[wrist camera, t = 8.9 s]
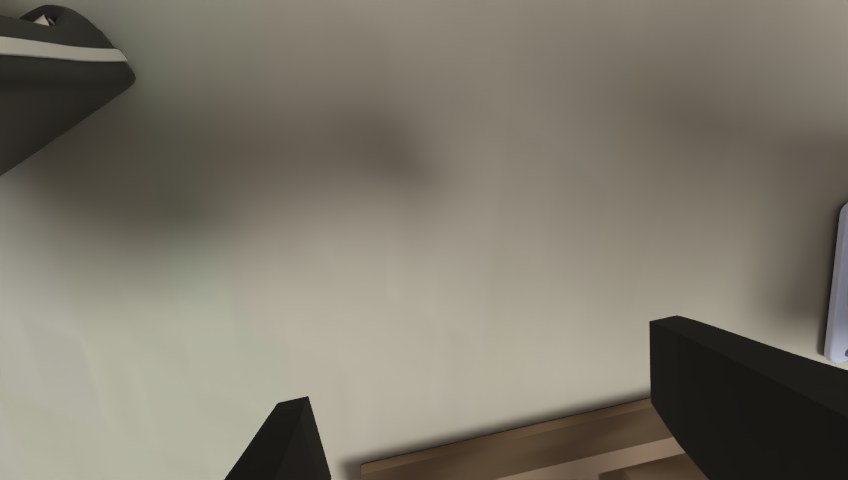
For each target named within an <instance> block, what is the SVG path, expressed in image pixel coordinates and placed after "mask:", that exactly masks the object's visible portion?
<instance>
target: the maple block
mask: <svg viewBox="0 0 848 480" xmlns="http://www.w3.org/2000/svg"><path fill="white" fill-rule="evenodd" d="M621 471H622V480H709V479H708V478H707V477H706V476H705V475H704V474H703V472H702V471H701V470H700V469H699V468H698V467H697V465H696V464H695V463H694V462H693V461H692V460H691V458H690V457H689V456H688V455H687V454H686V453H683V454H678V455H674V456H670V457H666V458H662V459H658V460H653V461H649V462H645V463H641V464H637V465H633V466H628V467H624V468H621Z"/></svg>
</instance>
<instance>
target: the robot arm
mask: <svg viewBox="0 0 848 480" xmlns="http://www.w3.org/2000/svg"><path fill="white" fill-rule="evenodd" d="M824 356H825V358H826V359H828V360H829V361H831V362H833V363H840V362H844V361H848V203H847V204H845V205H844V206H843V208H842V209H841V212H840V217H839V226H838V235H837V244H836V252H835V261H834V270H833V279H832V288H831V296H830V305H829V314H828V323H827V331H826V340H825V349H824ZM650 381H651V403H652V405H653V406H654V408H655V410H656V411H657V413H658V414H659V416H660V417H661V419H662V421H663V422H664V424H665V425H666V427H667V428H668V430H669V431H670V432H671V434H672V435H673V437H674V438H675V440H676V441H677V443H678V444H679V445H680V446H681V448H682V449H683V450H684V451H685V452H686V454H687V455H688V456H689V457H690V458H691V460H692V461H693V462H694V463H695V464H696V465H697V467H698V468H699V469H700V470H701V471H702V472H703V474H704V475H705V476H706V477H707V478H708V479H709V480H848V370H844V369H841V368H838V367H834V366H831V365H828V364H824V363H821V362H818V361H814V360H811V359H808V358H805V357H802V356H799V355H796V354H793V353H790V352H787V351H784V350H781V349H778V348H775V347H772V346H769V345H766V344H763V343H760V342H757V341H754V340H751V339H749V338H746V337H743V336H740V335H737V334H734V333H731V332H728V331H726V330H723V329H720V328H717V327H714V326H711V325H708V324H705V323H702V322H699V321H695V320H692V319H689V318H685V317H681V316H672V317H668V318H663V319H659V320H654V321H650ZM224 480H331V475H330V471H329V468H328V464H327V461H326V457H325V454H324V450H323V446H322V443H321V439H320V436H319V432H318V429H317V425H316V422H315V418H314V415H313V411H312V408H311V404H310V401H309V397H308V396H307V397H303V398H298V399H294V400H289V401H285V402H280V403H278V404H277V405H276V406H275V408H274V409H273V411H272V412H271V413H270V415H269V416H268V418H267V419H266V421H265V422H264V423H263V425H262V426H261V428H260V429H259V431H258V432H257V434H256V435H255V437H254V438H253V440H252V441H251V443H250V444H249V445H248V447H247V448H246V450H245V451H244V453H243V454H242V456H241V457H240V458H239V460H238V461H237V463H236V464H235V465H234V467H233V468H232V470H231V471H230V472H229V474H228V475H227V476H226V478H225V479H224Z"/></svg>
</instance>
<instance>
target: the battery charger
mask: <svg viewBox="0 0 848 480" xmlns="http://www.w3.org/2000/svg"><path fill="white" fill-rule="evenodd" d="M127 62H128V60H127V59H126V58H125V56H124V55H123V54H122V53H121V51H120V50H118V49H115V48H114V47H113V46H112V44H111V43H110V42H109V41H108V39H107V38H106V37H105V36H104V34H103V33H102V32H101V31H100V30H98V29H97V28H96V27H95V26H94V25H93V24H92V23H90V22H89V21H88V20H87V19H86V18H84V17H83V16H81V15H79V14H78V13H76V12H75V11H73V10H71V9H68V8H66V7H61V6H55V5H45V6H41V7H38V8H36V9H34V10H33V11H31V12H29V13H27V14H25V15H24V16H22V17H21V18H19V19H16V18H11V17H6V16H1V15H0V176H1V175H2V174H4V173H5V172H7V171H8V170H10V169H11V168H13V167H14V166H16V165H17V164H19V163H20V162H22V161H23V160H25V159H26V158H28V157H29V156H31V155H32V154H33V153H35V152H36V151H38V150H39V149H41V148H42V147H44V146H45V145H47V144H48V143H50V142H51V141H53V140H54V139H55V138H57V137H58V136H60V135H61V134H63V133H64V132H66V131H67V130H69V129H70V128H72V127H73V126H74V125H76V124H77V123H79V122H80V121H82V120H83V119H85V118H86V117H87V116H89V115H90V114H92V113H93V112H95V111H96V110H98V109H99V108H101V107H102V106H103V105H105V104H106V103H108V102H109V101H111V100H112V99H114V98H115V97H116V96H118V95H119V94H121V93H122V92H124V91H125V90H126V89H128V88H129V87H130V86H132V85H133V84H134V82H135V74H134V73H133V71H132V70H131V68H130V67H129V66H128V64H127Z"/></svg>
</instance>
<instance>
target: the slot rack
mask: <svg viewBox="0 0 848 480" xmlns="http://www.w3.org/2000/svg"><path fill="white" fill-rule="evenodd" d="M683 453H686V452H685V451H684V450H683V449H682V448H681V446H680V445H679V444H678V443H677V441H676V440H675V438H674V437H673V435H672V434H671V432H670V431H669V430H668V428H667V427H666V425H665V424H664V422H663V421H662V419H661V417H660V416H659V414H658V413H657V411H656V410H655V408H654V406H653V405H652V403H651V398H648V399H644V400H639V401H635V402H631V403H626V404H622V405H618V406H613V407H609V408H605V409H600V410H596V411H592V412H587V413H583V414H579V415H574V416H570V417H566V418H561V419H557V420H553V421H548V422H544V423H540V424H535V425H531V426H527V427H522V428H518V429H514V430H509V431H505V432H501V433H496V434H492V435H488V436H483V437H479V438H475V439H470V440H466V441H462V442H457V443H453V444H449V445H444V446H440V447H436V448H431V449H427V450H423V451H418V452H414V453H410V454H405V455H401V456H397V457H392V458H388V459H384V460H379V461H375V462H371V463H366V464H362V465H361V480H622V471H621V468H624V467H628V466H633V465H637V464H641V463H645V462H649V461H653V460H658V459H662V458H666V457H670V456H674V455H678V454H683Z"/></svg>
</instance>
